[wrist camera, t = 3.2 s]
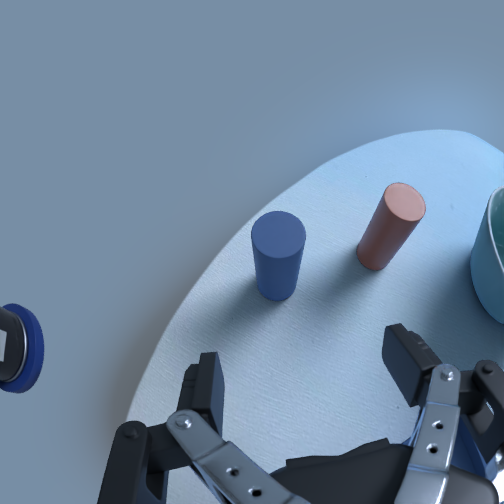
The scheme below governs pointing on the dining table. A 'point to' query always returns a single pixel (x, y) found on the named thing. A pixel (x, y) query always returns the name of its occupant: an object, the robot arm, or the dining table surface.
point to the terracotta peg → (390, 225)
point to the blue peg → (277, 253)
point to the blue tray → (465, 451)
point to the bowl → (490, 257)
